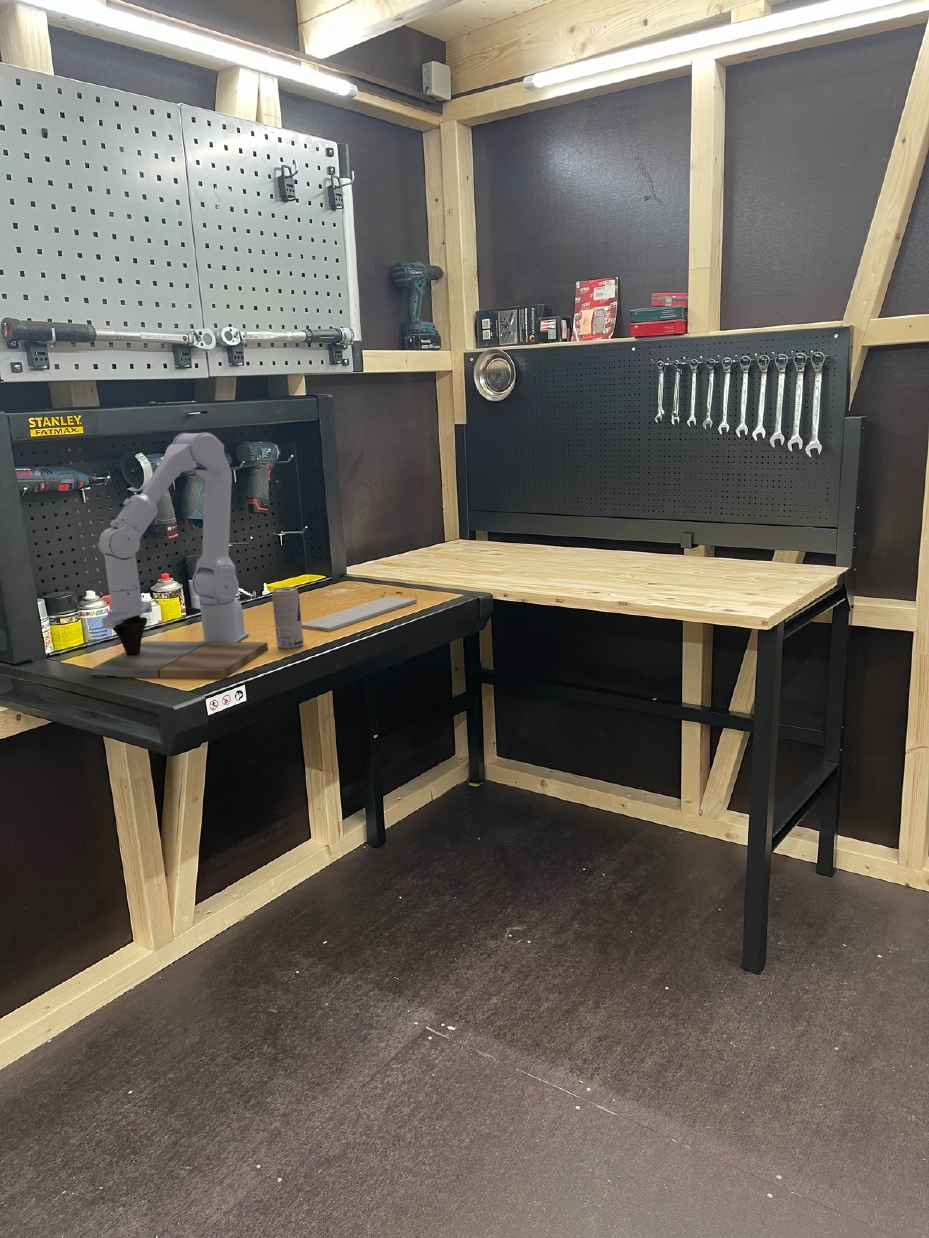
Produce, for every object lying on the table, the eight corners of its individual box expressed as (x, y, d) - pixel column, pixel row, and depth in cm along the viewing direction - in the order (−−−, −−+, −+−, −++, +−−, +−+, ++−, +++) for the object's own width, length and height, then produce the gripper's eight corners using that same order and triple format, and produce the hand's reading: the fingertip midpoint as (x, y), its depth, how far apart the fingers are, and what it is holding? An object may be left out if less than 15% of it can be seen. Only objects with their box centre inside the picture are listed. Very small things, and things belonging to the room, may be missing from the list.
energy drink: (305, 641, 194) (299, 586, 192) (301, 648, 189) (296, 591, 186) (279, 643, 194) (274, 587, 192) (275, 649, 189) (269, 592, 186)
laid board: (210, 649, 192) (209, 641, 192) (268, 649, 190) (267, 642, 189) (160, 677, 174) (159, 669, 173) (224, 678, 171) (223, 670, 170)
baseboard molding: (290, 629, 209) (329, 635, 202) (289, 617, 208) (327, 622, 201) (380, 601, 233) (417, 605, 226) (379, 589, 232) (416, 593, 225)
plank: (147, 647, 196) (146, 641, 195) (208, 648, 193) (207, 641, 192) (91, 676, 177) (90, 668, 176) (158, 677, 174) (157, 669, 173)
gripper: (126, 581, 190) (135, 645, 193) (84, 596, 176) (94, 664, 179) (157, 581, 188) (165, 645, 191) (117, 596, 174) (127, 665, 177)
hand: (133, 654), depth 185 cm, fingers closed, pressing on plank
